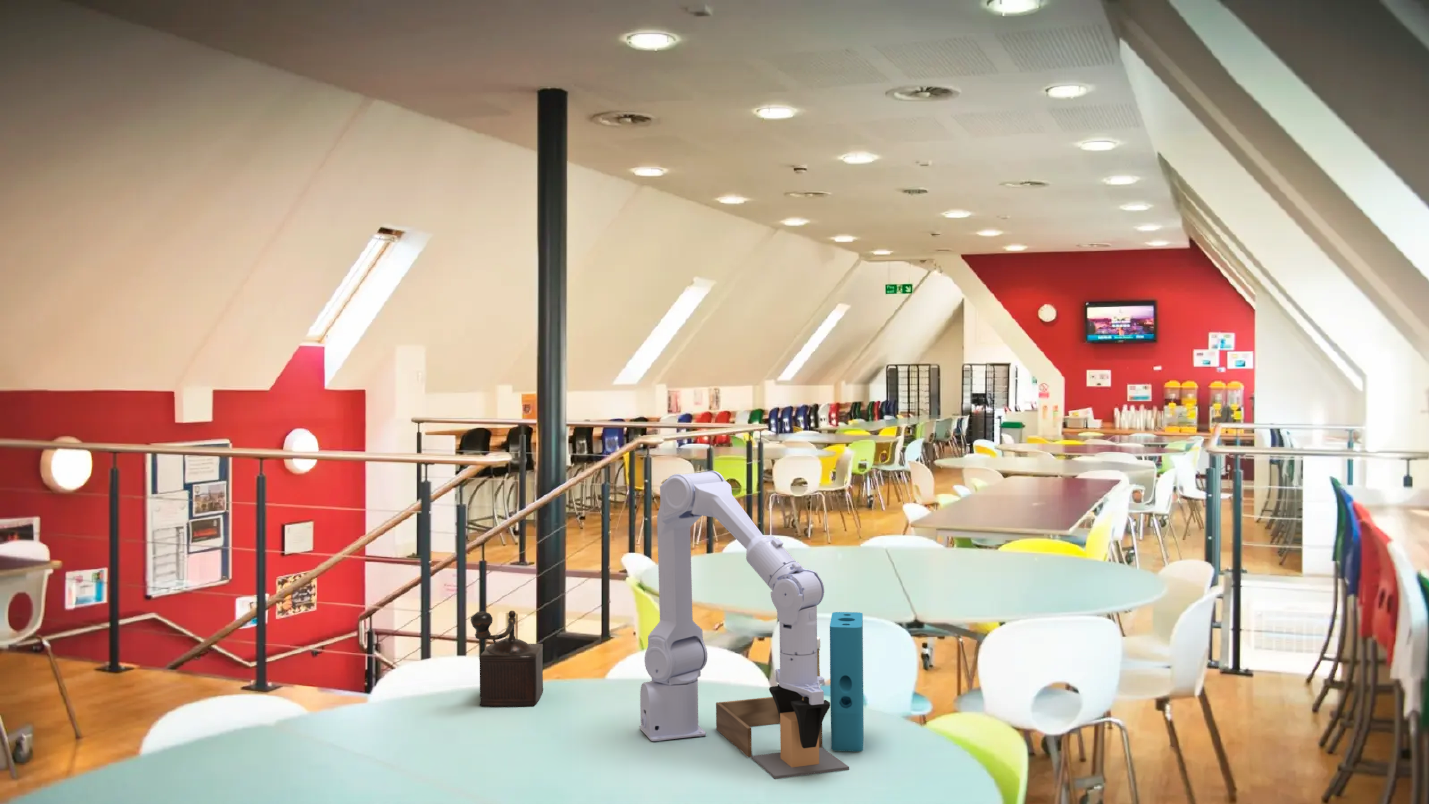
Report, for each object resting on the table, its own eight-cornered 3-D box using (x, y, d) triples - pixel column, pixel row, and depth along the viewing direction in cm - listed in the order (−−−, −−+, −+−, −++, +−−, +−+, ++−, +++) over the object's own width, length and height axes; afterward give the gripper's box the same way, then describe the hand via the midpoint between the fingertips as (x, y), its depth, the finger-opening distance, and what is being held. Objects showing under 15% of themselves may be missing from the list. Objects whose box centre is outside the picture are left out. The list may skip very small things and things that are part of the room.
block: (862, 755, 183) (861, 627, 182) (830, 754, 183) (829, 627, 183) (863, 732, 195) (862, 612, 194) (833, 731, 195) (832, 611, 195)
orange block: (791, 767, 176) (791, 721, 176) (780, 758, 180) (780, 713, 180) (819, 764, 178) (818, 718, 177) (807, 755, 182) (807, 710, 182)
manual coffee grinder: (486, 692, 223) (485, 598, 222) (544, 691, 222) (543, 597, 222) (468, 715, 207) (467, 614, 207) (531, 715, 207) (529, 613, 207)
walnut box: (747, 757, 182) (747, 728, 182) (716, 729, 197) (715, 702, 197) (822, 748, 186) (822, 720, 186) (785, 721, 201) (785, 695, 201)
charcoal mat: (774, 778, 172) (774, 776, 172) (751, 758, 182) (751, 755, 182) (849, 769, 176) (849, 766, 176) (822, 749, 186) (822, 747, 186)
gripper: (842, 659, 173) (843, 750, 173) (804, 639, 187) (805, 723, 187) (798, 663, 171) (799, 756, 171) (762, 642, 185) (763, 728, 185)
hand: (799, 739), depth 179 cm, fingers open, 7 cm apart
